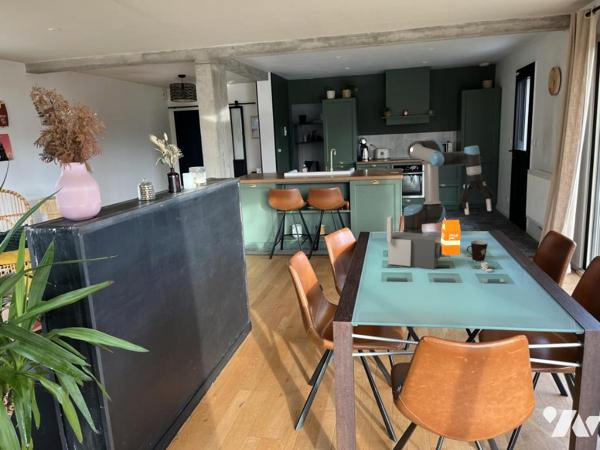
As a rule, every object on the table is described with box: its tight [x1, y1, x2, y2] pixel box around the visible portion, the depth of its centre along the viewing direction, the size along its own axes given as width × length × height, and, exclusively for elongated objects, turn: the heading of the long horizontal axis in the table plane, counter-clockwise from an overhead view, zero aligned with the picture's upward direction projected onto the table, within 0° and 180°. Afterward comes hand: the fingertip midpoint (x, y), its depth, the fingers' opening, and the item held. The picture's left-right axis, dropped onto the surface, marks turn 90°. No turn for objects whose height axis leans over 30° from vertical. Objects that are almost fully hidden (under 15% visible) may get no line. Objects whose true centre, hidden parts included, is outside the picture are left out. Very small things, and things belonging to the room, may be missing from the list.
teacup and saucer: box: [475, 261, 494, 273], centre depth 234 cm, size 9×8×4 cm
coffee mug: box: [466, 240, 489, 262], centre depth 251 cm, size 12×9×10 cm
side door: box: [386, 216, 411, 267], centre depth 240 cm, size 4×12×26 cm, turn 64°
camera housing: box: [388, 231, 443, 271], centre depth 246 cm, size 12×26×17 cm, turn 64°
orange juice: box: [440, 219, 462, 256], centre depth 265 cm, size 8×9×20 cm
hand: (478, 212), depth 250 cm, fingers open, 13 cm apart
